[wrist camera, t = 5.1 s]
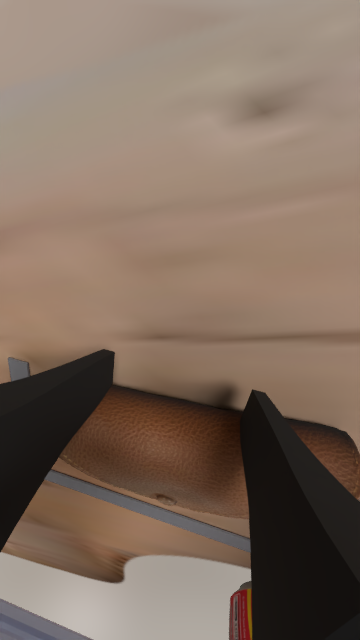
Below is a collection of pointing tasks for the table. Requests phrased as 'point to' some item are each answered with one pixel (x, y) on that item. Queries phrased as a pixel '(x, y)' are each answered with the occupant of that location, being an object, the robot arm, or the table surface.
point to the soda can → (241, 613)
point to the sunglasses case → (187, 451)
